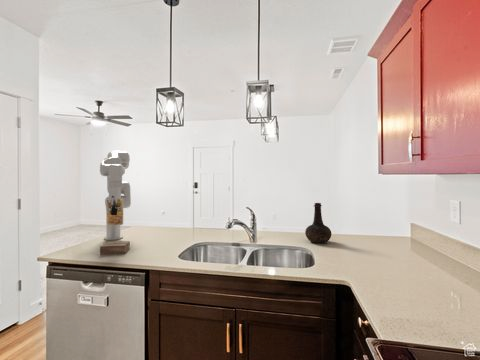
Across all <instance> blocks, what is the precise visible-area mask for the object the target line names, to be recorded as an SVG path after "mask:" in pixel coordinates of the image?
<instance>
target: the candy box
mask: <svg viewBox="0 0 480 360" xmlns="http://www.w3.org/2000/svg"><path fill="white" fill-rule="evenodd" d="M115 202H116V201H115ZM115 202H114V203H115ZM116 208H117V215H111V203H110V204H109V203H108V200H107V225H120V226H123V224H124V208H123V199H120V200H118V203H117V207H116Z"/></svg>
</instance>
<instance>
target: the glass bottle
mask: <svg viewBox="0 0 480 360" xmlns="http://www.w3.org/2000/svg"><path fill="white" fill-rule="evenodd" d="M313 207H314V214H313V216H314V217H313V221H312V224H311V225H308V226H307V227H306V228H305V237H306V238H307V240H308V241H310V242H311V243H314V244H325V243H327V242H329V241H330V240H331V238H332V231H331V229H330V227H328V226H326V225H325V224H324V221H323V217H322V203H321V202H315V203H314V205H313Z"/></svg>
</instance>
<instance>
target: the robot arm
mask: <svg viewBox="0 0 480 360" xmlns="http://www.w3.org/2000/svg"><path fill="white" fill-rule="evenodd" d="M130 160H131V159H130V154H129V152H127V151H121V150H113V151H110V152H108V153H107V156H106V157H105V158H104V159H103V160H102V161H101V162H100V165H99V174H100V175H101V176H102V177H106V178H107V179H106V185H107V186H106V188H107V193H108V196H107V197H106V198H105V199H104V203H105V205H104V206H105V211H106V212H105V214H106V224H105V225H106V234H105V236H104V237H103V239H104V240H106V241H114V240H115V241H116V240H121V239H123V238H124V237H123V235H121V225H107V200H108V203H109V204H110V203H111V215H117V208H116V207H117V203H118V200H120V199H123V209H129V208H130V207H131V205H132V204H131V203H132V201H131V199H132V198H131V195H132V194H131V185H130V182H128V181H125V180H124V181H123V176H124V174H125V172H126V170H127V169H128V168H129V166H130ZM115 201H116V202H115ZM114 202H115V203H114Z"/></svg>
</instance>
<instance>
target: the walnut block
mask: <svg viewBox="0 0 480 360" xmlns="http://www.w3.org/2000/svg"><path fill="white" fill-rule="evenodd" d="M130 245H131V241H130V240H122V241H121V240H119V241H116V240H115V241H114V240H112V241H106V242H103V244H101V245H100V246H99V255H100V256H105V255H126V253H128V251H129V250H130V249H131V247H130Z"/></svg>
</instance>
